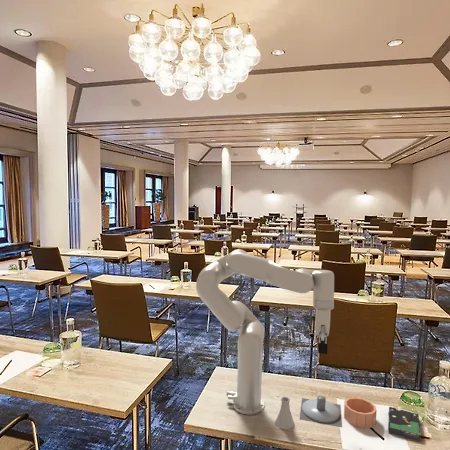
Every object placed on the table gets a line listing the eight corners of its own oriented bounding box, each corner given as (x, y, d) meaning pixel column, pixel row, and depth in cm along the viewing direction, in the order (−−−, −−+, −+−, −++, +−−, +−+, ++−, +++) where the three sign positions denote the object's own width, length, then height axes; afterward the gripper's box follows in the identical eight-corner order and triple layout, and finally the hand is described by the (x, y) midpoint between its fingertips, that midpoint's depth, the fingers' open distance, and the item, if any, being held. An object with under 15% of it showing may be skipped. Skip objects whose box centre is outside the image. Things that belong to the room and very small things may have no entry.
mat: (299, 421, 132) (299, 418, 132) (302, 399, 146) (302, 398, 146) (341, 429, 128) (342, 427, 128) (340, 406, 142) (340, 404, 142)
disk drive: (388, 413, 140) (387, 434, 126) (388, 406, 140) (388, 426, 126) (418, 420, 135) (421, 443, 122) (418, 413, 135) (421, 435, 122)
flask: (280, 417, 134) (281, 391, 133) (298, 425, 129) (299, 398, 129) (270, 426, 128) (271, 399, 128) (288, 434, 124) (289, 407, 123)
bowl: (344, 426, 129) (345, 410, 129) (343, 410, 140) (343, 395, 140) (377, 433, 126) (378, 416, 126) (373, 415, 137) (374, 400, 137)
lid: (300, 418, 132) (301, 404, 132) (303, 398, 146) (303, 385, 145) (340, 426, 128) (341, 411, 128) (339, 405, 142) (339, 391, 141)
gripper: (314, 297, 143) (313, 339, 144) (311, 309, 126) (311, 356, 127) (333, 298, 141) (333, 340, 141) (334, 310, 124) (333, 358, 125)
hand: (323, 348), depth 134 cm, fingers open, 9 cm apart
